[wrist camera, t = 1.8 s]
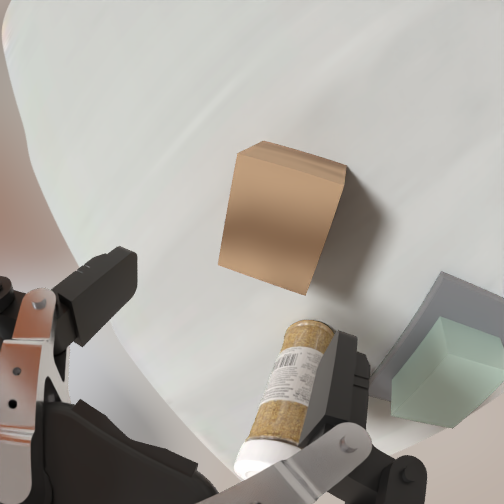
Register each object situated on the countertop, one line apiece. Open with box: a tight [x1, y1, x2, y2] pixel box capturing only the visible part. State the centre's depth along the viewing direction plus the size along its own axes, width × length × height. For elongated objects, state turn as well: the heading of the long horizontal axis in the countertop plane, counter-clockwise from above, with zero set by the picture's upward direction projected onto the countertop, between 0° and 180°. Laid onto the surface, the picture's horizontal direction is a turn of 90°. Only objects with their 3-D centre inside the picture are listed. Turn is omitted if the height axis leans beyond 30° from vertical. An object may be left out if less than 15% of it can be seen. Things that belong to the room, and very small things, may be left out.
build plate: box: [368, 271, 504, 428], centre depth 20 cm, size 14×10×5 cm
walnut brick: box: [218, 141, 347, 295], centre depth 19 cm, size 7×6×5 cm
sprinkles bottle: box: [234, 320, 334, 480], centre depth 20 cm, size 5×5×14 cm
